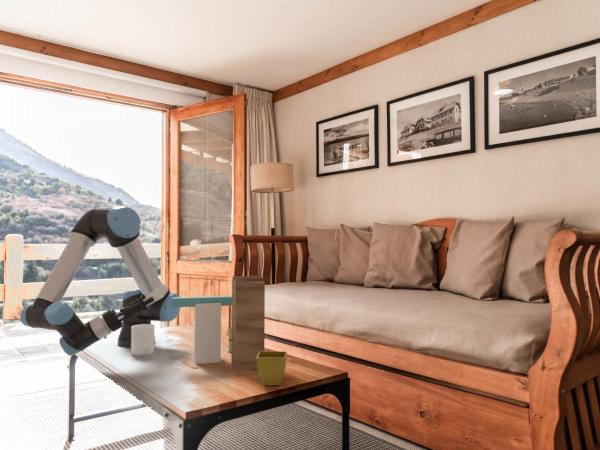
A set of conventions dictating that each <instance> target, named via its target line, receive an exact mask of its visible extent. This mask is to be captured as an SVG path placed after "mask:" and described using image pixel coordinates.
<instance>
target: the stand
mask: <svg viewBox="0 0 600 450" xmlns="http://www.w3.org/2000/svg"><path fill="white" fill-rule="evenodd" d="M265 283H266V281H265V277H264V276H263V277H262V276H260V275H249V276H248V275H247V276H245V275H244V276H240V275H239V276H236V275H235V276H232V279H231V296H232V306H231V327H232V345H231V353H230V354H231V355H230V356H231V358H230V359H231V361H230V362H231V367H232V368H233V370H234V371H235V372H241V370H244V371H252V370H251V369H257V359H256V357H257V355H258V354H259V352H260V351H265V324H266V323H265V321H266V320H265V317H266V316H265V311H266V310H265V309H266V307H265V305H266V304H265V303H266V301H265V298H266V296H265V295H266V294H265V292H266V291H265V289H266V288H265V287H266V286H265V285H266V284H265Z"/></svg>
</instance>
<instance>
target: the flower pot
mask: <svg viewBox="0 0 600 450" xmlns="http://www.w3.org/2000/svg"><path fill="white" fill-rule="evenodd" d="M287 354H288V352H287V351H280V350H279V351H275V350H274V351H270V350H269V351H265V350H264V351H260V352H259V354H258V355H257V357H256V359H257V369H258V370H257V375H258V378H259V381H260V383H261V384H262V386H265V385H266V386H272V385H279V386H280V385H281V384H282V381H283V380H284V376H285V371H286V367H287V366H286V365H287Z"/></svg>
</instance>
